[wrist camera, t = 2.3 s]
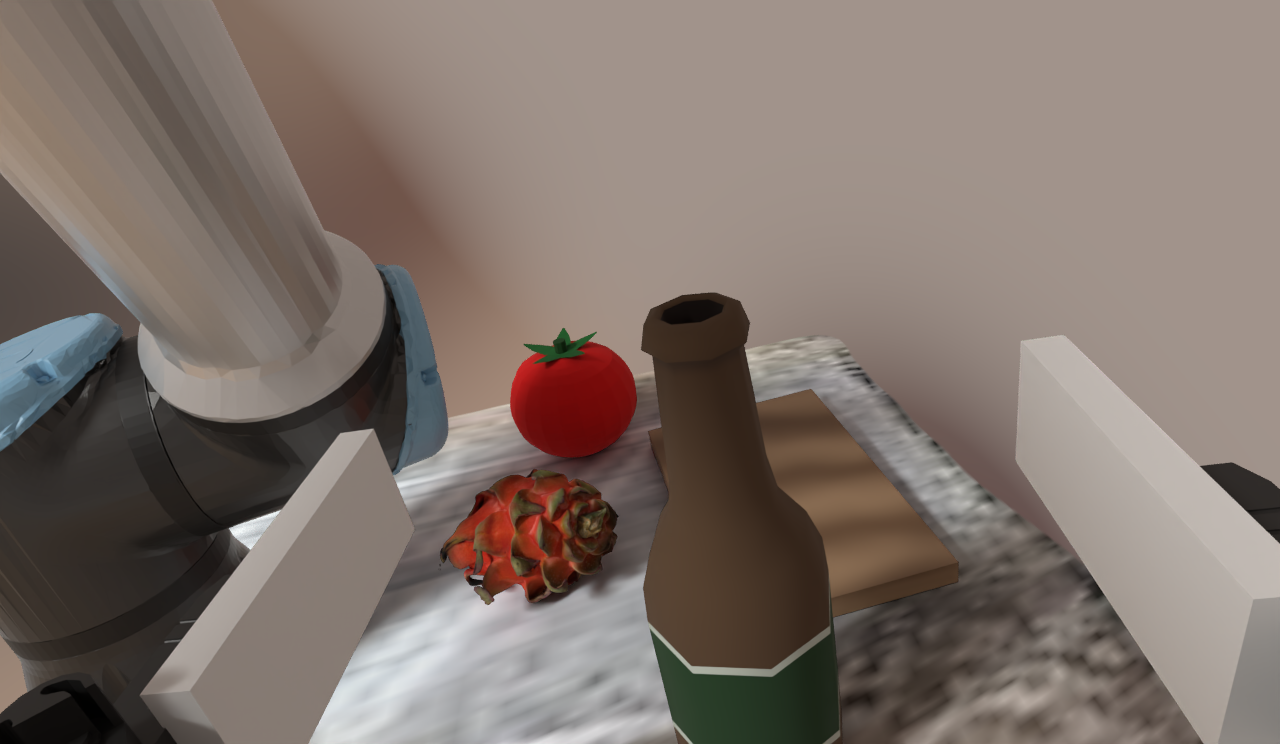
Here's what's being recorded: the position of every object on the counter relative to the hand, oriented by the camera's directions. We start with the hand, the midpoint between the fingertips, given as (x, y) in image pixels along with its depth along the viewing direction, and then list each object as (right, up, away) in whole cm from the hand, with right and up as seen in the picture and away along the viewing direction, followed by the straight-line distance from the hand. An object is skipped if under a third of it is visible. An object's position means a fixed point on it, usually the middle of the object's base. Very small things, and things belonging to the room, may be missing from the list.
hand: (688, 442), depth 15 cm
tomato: (-6, -5, +49) cm, 49 cm away
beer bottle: (+5, -17, +21) cm, 27 cm away
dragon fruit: (-8, -13, +35) cm, 38 cm away
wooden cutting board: (+9, -8, +37) cm, 39 cm away
